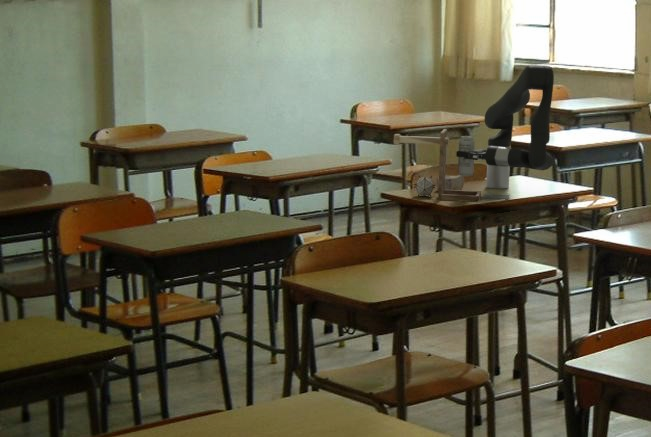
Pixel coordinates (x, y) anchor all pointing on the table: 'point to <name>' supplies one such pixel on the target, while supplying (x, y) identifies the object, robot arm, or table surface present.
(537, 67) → the robot arm
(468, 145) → the energy drink can
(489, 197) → the mat
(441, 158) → the wooden gallows stand
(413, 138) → the key bar
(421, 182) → the game die
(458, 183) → the mineral specimen
